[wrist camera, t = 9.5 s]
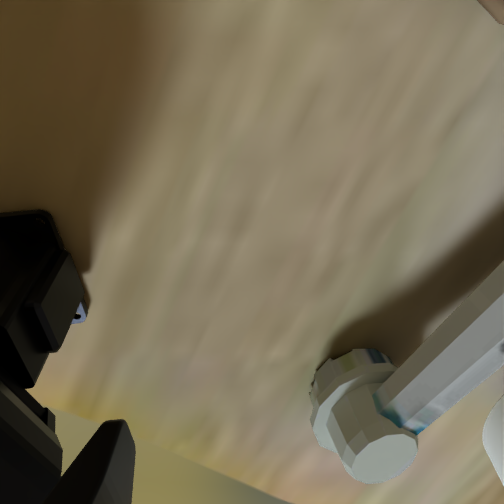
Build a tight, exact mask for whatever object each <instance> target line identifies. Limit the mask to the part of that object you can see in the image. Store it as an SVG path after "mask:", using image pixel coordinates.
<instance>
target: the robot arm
mask: <svg viewBox="0 0 504 504" xmlns="http://www.w3.org/2000/svg"><path fill="white" fill-rule="evenodd" d="M36 218H39V219H42V220H43V221H44V222H45V224H41V223H39V222H38V221H37V220H36ZM83 296H84V289H83V287H82V284H81V281H80V279H79V276H78V273H77V271H76V268H75V265H74V263H73V260H72V257H71V255H70V253H69V252H68V251H67V250H65V249H64V246H63V243H62V241H61V238H60V235H59V233H58V230H57V228H56V225H55V222H54V220H53V217H52V216H51V214H50V213H48V212H47V211H45V210H41V209H37V210H27V211H17V212H7V213H0V504H131V502H132V490H133V477H134V465H135V454H136V451H135V443H134V440H133V438H132V435H131V432H130V430H129V427H128V425H127V423H126V421H125V420H123V419H117V420H108V421H105V422H104V423H102V424H101V426H100V427H99V428H98V430H97V431H96V432H95V434H94V435H93V436H92V438H91V439H90V440H89V442H88V443H87V444H86V445H85V447H84V448H83V449H82V451H81V452H80V453H79V455H78V456H77V457H76V459H75V460H74V461H73V462H72V464H71V465H70V467H69V468H68V469H67V470H66V472H65V473H64V474H63V476H61V472H62V471H61V470H62V452H63V450H62V447H61V445H60V442H59V440H58V437H57V435H56V434H55V415H54V414H53V413H52V412H51V411H50V410H49V409H48V408H43V407H42V406H41V405H40V404H39V403H38V402H37V401H36V400H35V399H34V398H33V397H32V396H31V395H30V394H29V393H28V392H27V391H26V390H25V389H29V388H33V387H34V385H35V383H36V381H37V379H38V377H39V375H40V372H41V370H42V368H43V366H44V364H45V362H46V359H47V357H48V355H49V353H55V352H57V351H58V350H59V349H60V347H61V346H62V343H63V341H64V339H65V337H66V334H67V332H68V330H69V328H70V325H71V324H75V323H81V322H83V321H85V319H86V317H87V314H88V309H87V307H86V304H85V301H84V299H83ZM76 312H78V313H80V315H79V314H76Z"/></svg>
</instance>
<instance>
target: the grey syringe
mask: <svg viewBox="0 0 504 504" xmlns="http://www.w3.org/2000/svg"><path fill="white" fill-rule="evenodd" d="M503 365H504V260H503V261H502V262H501V264H500V265H499V266H498V267H497V268H496V269H495V270H494V271H493V272H492V273H491V274H490V275H489V276H488V277H487V278H486V279H485V280H484V281H483V282H482V283H481V284H480V285H479V286H478V287H477V288H476V289H475V290H474V291H473V292H472V293H471V294H470V295H469V296H468V297H467V298H466V299H465V300H464V301H463V302H462V303H461V305H460V306H459V307H458V308H457V309H456V310H455V311H454V312H453V313H452V314H451V315H450V316H449V317H448V318H447V319H446V320H445V321H444V322H443V323H442V324H441V325H440V326H439V327H438V328H437V329H436V330H435V331H434V332H433V333H432V334H431V335H430V336H429V337H428V338H427V339H426V340H425V341H424V342H423V343H422V344H421V346H420V347H419V348H418V349H417V350H416V351H415V352H414V353H413V354H412V355H411V356H410V357H409V358H408V359H407V360H406V361H405V362H404V363H403V364H402V365H401V366H400V367H399V368H398V367H396V366H394V365H393V363H392V361H391V360H390V358H389V357H388V356H386V355H384V354H382V353H381V352H379V351H377V350H375V349H352V351H351V352H349V353H347V354H345V355H343V356H341V357H339V358H337V359H335V360H333V359H331V358H329V359H328V360H327V361H326V362H325V363H324V364H323V366H322V367H321V368H320V369H319V370H318V371H317V372H316V373H315V374H314V376H315V382H314V385H313V388H312V392H309V395H310V398H311V401H312V404H313V407H314V408H313V411H312V414H311V417H310V422H311V425H312V429H313V431H314V433H315V436H316V438H317V440H318V443H319V445H320V446H322V447H324V448H326V449H329V450H331V451H333V452H335V453H338V454H339V457H340V459H341V461H342V463H343V465H344V467H345V469H346V471H347V472H348V473H349V474H350V475H351V476H352V477H353V478H354V479H356V480H358V481H361V482H363V483H365V484H372V483H383V482H385V481H387V480H389V479H392V478H394V477H396V476H398V475H400V474H401V473H402V472H403V471H404V470H405V469H406V468H408V467H409V466H410V465H411V464H412V462H413V460H414V458H415V456H416V454H417V451H418V436H417V435H418V434H419V433H420V432H421V431H423V430H424V429H425V428H426V427H427V426H429V425H430V424H431V423H432V422H434V421H435V420H436V419H437V418H439V417H440V416H441V415H442V414H444V413H445V412H446V411H447V410H448V409H450V408H451V407H452V406H453V405H455V404H456V403H457V402H458V401H460V400H461V399H462V398H463V397H464V396H466V395H467V394H468V393H469V392H471V391H472V390H473V389H474V388H476V387H477V386H478V385H479V384H481V383H482V382H483V381H484V380H485V379H487V378H488V377H489V376H490V375H492V374H493V373H494V372H495V371H497V370H498V369H499V368H500V367H501V366H503Z"/></svg>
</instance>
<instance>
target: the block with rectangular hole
mask: <svg viewBox="0 0 504 504" xmlns="http://www.w3.org/2000/svg"><path fill="white" fill-rule="evenodd" d="M477 1H478V2H479V3H480V4H481V5H482V6H483V7H484V8H485V9H486V10H487V11H488V12H489V13H490V14H491V15H492V17H493V18H494V19H495V20H496V21H497V22H498V23H499V24H502V25H504V0H477Z"/></svg>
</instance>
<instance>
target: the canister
mask: <svg viewBox="0 0 504 504" xmlns="http://www.w3.org/2000/svg"><path fill="white" fill-rule="evenodd" d="M483 444H484V448H485V450H486V452H487V454H488V456H489V458H490V460H491V462H492V464H493V466H494V468H495V470H496V472H497V474H498V476H499V478H500V480H501V481H502V483H503V485H504V395H503V396H502V398H501V399H500V400H499V401H498V402H497V403H496V405H495V406H494V407H493V409H492V410H491V412H490V413H489V415H488V417H487V419H486V422H485V425H484V428H483Z"/></svg>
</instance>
